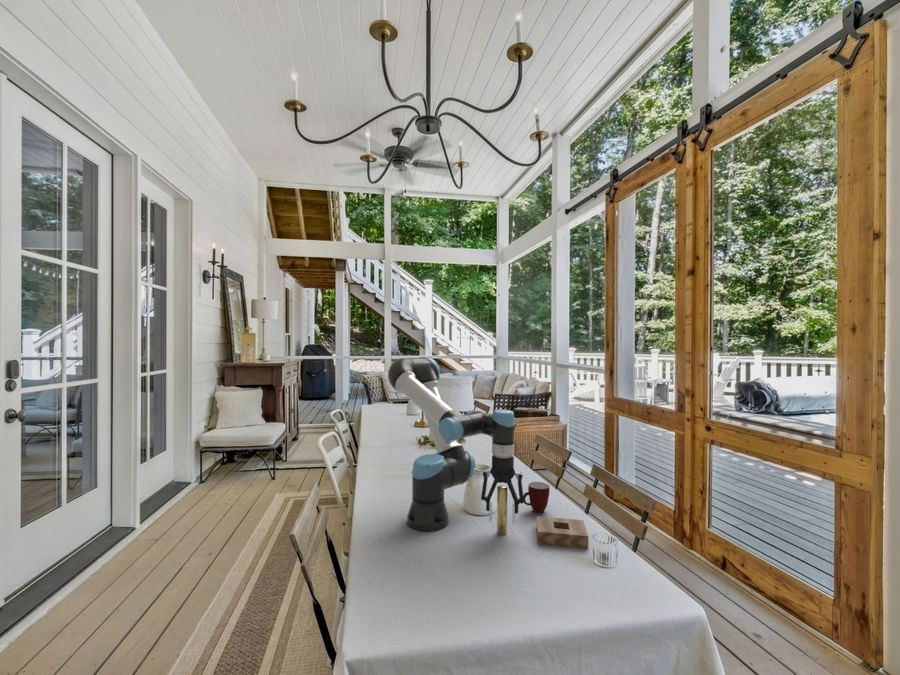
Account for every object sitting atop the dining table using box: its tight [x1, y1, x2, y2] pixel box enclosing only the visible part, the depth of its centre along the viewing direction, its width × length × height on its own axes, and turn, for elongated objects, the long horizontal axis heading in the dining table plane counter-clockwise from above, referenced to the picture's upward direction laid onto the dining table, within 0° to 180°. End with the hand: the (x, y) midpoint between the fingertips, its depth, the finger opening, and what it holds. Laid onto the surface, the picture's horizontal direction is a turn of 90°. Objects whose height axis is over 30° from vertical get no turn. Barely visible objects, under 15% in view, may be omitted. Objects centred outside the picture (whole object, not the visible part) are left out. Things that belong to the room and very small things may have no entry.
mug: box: [523, 481, 550, 514], centre depth 164 cm, size 10×8×10 cm
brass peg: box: [496, 484, 508, 536], centre depth 145 cm, size 3×3×16 cm
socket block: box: [536, 515, 589, 549], centre depth 143 cm, size 16×12×4 cm
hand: (501, 521), depth 145 cm, fingers open, 7 cm apart
